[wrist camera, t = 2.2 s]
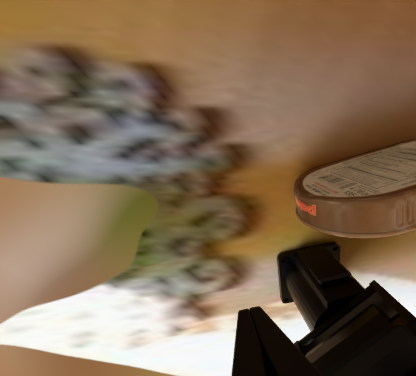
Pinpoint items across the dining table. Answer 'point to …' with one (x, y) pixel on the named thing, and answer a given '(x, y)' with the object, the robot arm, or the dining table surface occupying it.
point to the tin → (361, 194)
